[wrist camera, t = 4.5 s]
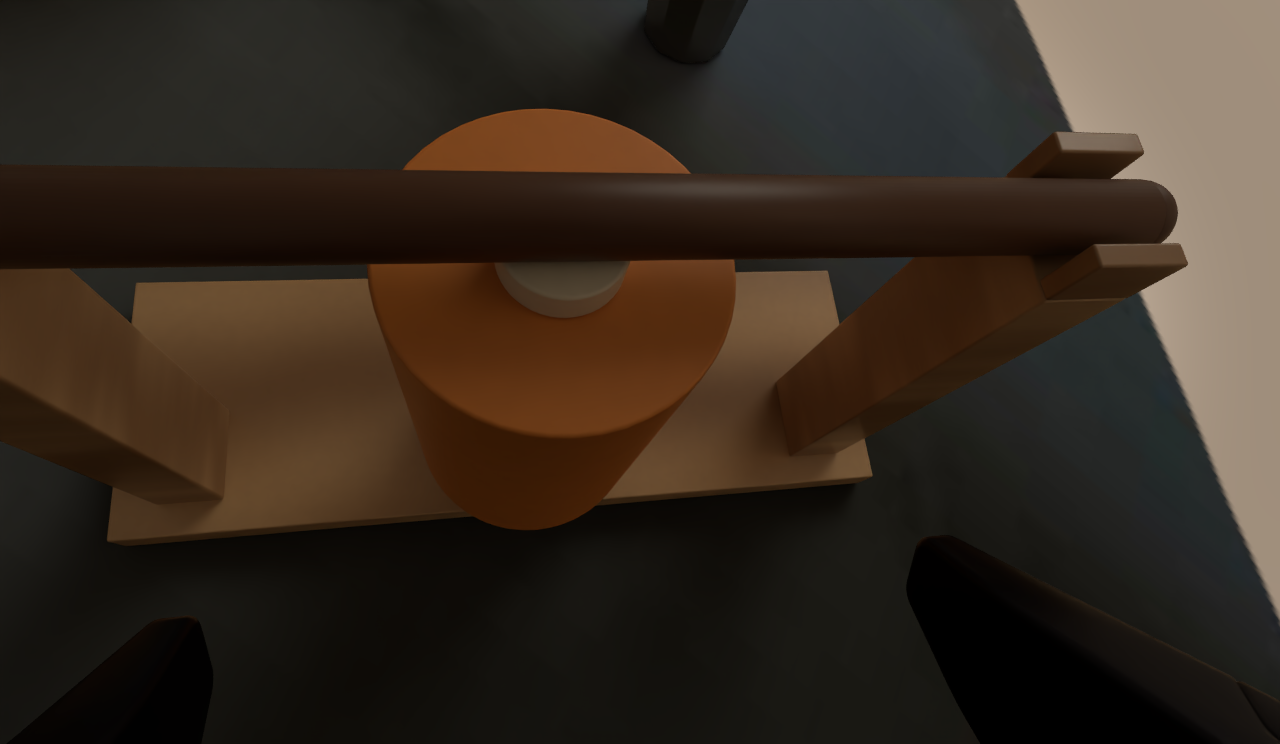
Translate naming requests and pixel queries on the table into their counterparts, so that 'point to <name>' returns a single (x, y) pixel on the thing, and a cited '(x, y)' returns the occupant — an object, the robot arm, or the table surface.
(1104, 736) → the robot arm
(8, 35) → the table surface
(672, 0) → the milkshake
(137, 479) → the rack
